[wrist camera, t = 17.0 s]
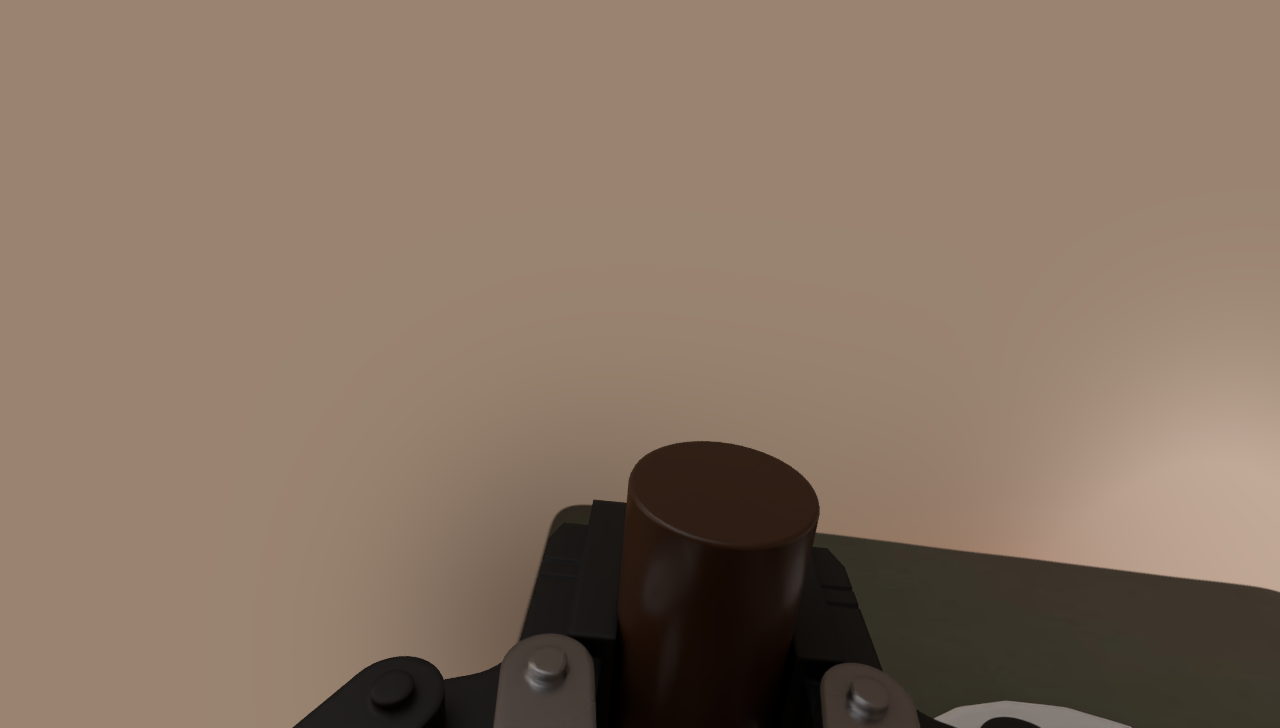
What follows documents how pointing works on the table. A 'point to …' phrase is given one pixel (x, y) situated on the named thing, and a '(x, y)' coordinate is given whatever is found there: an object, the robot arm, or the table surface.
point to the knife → (709, 586)
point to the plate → (1024, 716)
